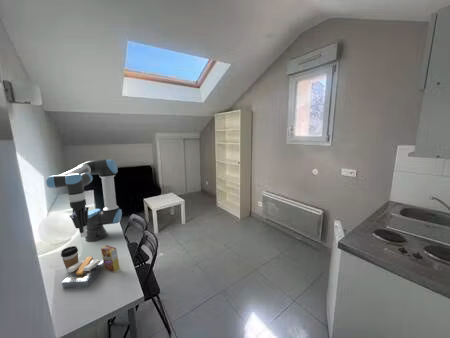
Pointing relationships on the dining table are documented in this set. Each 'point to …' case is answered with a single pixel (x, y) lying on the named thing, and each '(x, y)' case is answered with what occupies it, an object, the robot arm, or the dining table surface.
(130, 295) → the dining table surface
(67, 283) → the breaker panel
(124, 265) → the dining table surface
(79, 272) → the long orange bar
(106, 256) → the candy box
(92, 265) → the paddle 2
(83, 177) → the robot arm
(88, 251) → the dining table surface
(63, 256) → the coffee cup
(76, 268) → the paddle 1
